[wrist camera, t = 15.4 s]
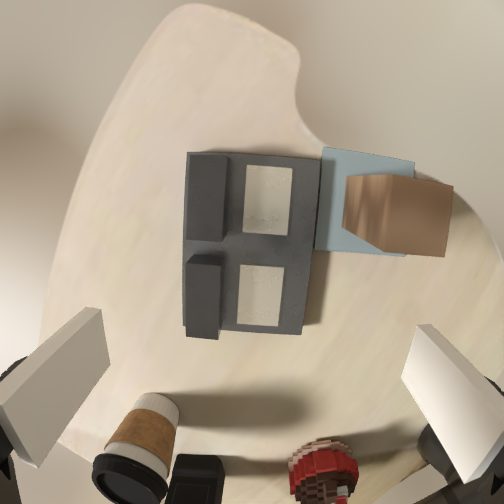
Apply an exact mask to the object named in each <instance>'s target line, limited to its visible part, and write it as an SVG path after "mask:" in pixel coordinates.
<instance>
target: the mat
mask: <svg viewBox="0 0 504 504" xmlns="http://www.w3.org/2000/svg"><path fill="white" fill-rule="evenodd" d="M414 165H415V162H411V161H406V160H401V159H396V158H390V157H385V156H379V155H374V154H368V153H362V152H356V151H349V150H342V149H335V148H327V147H322V163H321V177H320V189H319V201H318V212H317V222H316V232H315V242H314V250H325V251H338V252H351V253H364V254H377V255H389V256H402V257H404V255H405V254H398V253H386V252H383V251H381V250H380V249H378V248H376V247H374V246H373V245H371V244H369V243H368V242H366V241H364V240H363V239H361V238H359V237H358V236H356V235H354V234H352V233H351V232H349V231H347V230H345V229H344V228H342V218H343V208H344V197H345V185H346V176H361V175H383V174H395V175H400V176H406V177H411V178H414Z"/></svg>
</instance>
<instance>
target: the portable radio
mask: <svg viewBox="0 0 504 504" xmlns="http://www.w3.org/2000/svg"><path fill="white" fill-rule="evenodd" d="M224 480H225V473H224V469H223V466H222V462H221V461H220V459H219V458H218V457H217V456H211V455H186V454H179V455H177V457H176V461H175V464H174V468H173V471H172V478H171V481H170V485H169V489H168V492H167V496H166V500H165V504H221V502H222V494H223V487H224Z"/></svg>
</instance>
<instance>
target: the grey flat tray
mask: <svg viewBox="0 0 504 504" xmlns="http://www.w3.org/2000/svg"><path fill="white" fill-rule="evenodd" d="M319 174H320V160H311V159H302V158H292V157H281V156H268V155H254V154H237V153H214V152H187V161H186V177H185V196H184V221H183V268H182V298H183V326H186V337H195V338H204V339H214V340H218V339H219V335H220V331H221V330H229V331H241V332H255V333H270V334H289V335H301V333H302V327H303V320H304V313H305V306H306V298H307V291H308V283H309V275H310V267H311V258H312V250H313V240H314V231H315V221H316V210H317V199H318V187H319Z"/></svg>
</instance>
